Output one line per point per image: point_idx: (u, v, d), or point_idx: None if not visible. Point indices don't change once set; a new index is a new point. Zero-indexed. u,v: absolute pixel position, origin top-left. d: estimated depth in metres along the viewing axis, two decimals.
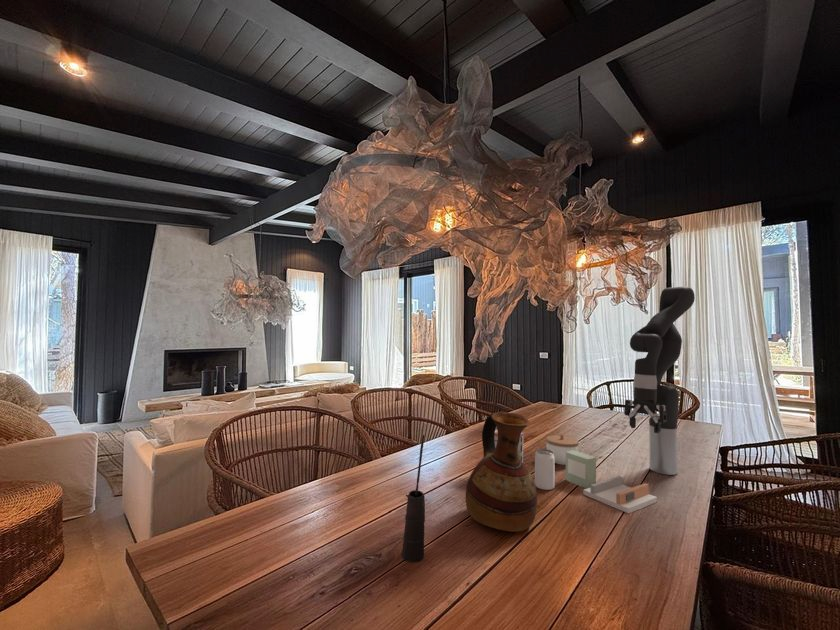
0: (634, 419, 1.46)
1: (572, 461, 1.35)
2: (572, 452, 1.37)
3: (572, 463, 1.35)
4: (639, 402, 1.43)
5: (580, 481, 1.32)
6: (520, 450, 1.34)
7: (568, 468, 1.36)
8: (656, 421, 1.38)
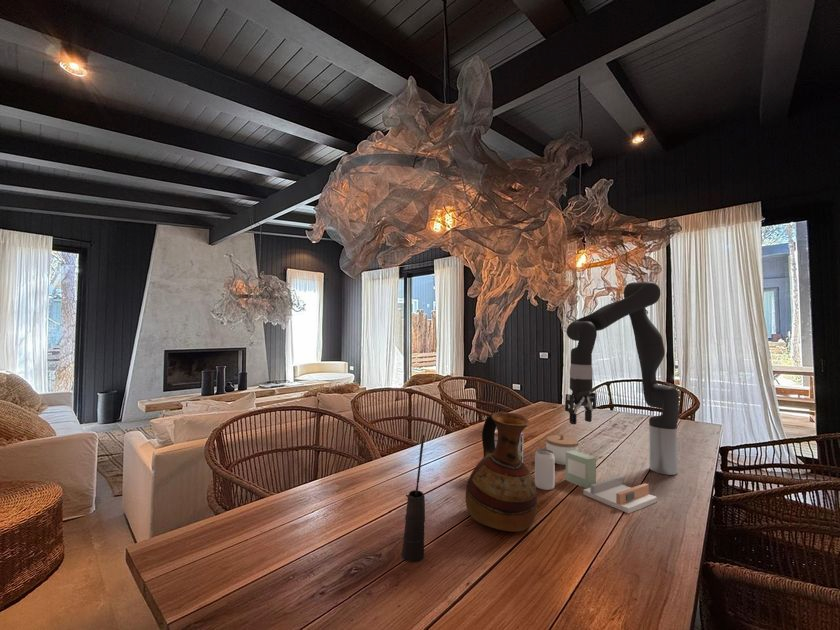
0: None
1: (572, 461, 1.35)
2: (572, 452, 1.37)
3: (572, 463, 1.35)
4: (581, 394, 1.34)
5: (580, 481, 1.32)
6: (520, 450, 1.34)
7: (568, 468, 1.36)
8: (592, 409, 1.37)
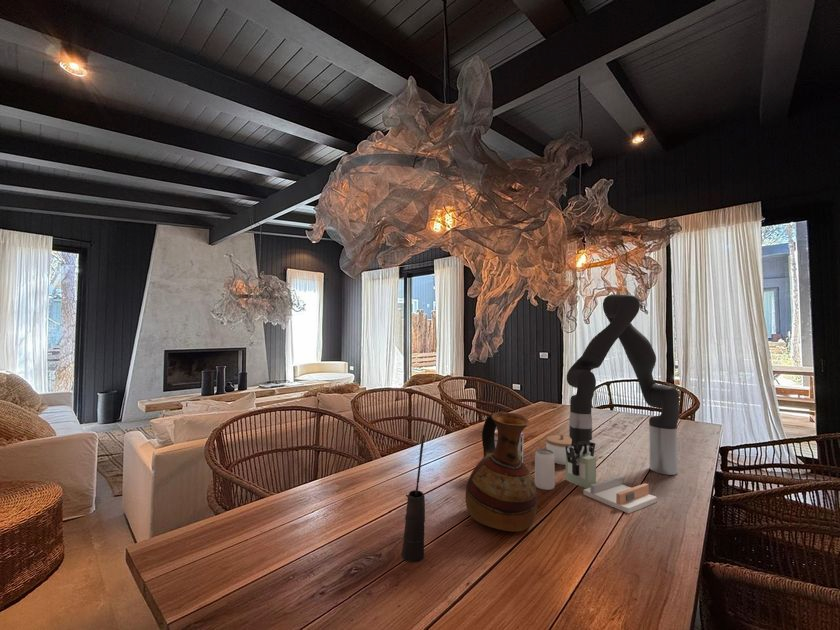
0: None
1: None
2: None
3: None
4: (580, 443, 1.33)
5: (580, 481, 1.32)
6: (520, 450, 1.34)
7: (568, 468, 1.36)
8: None
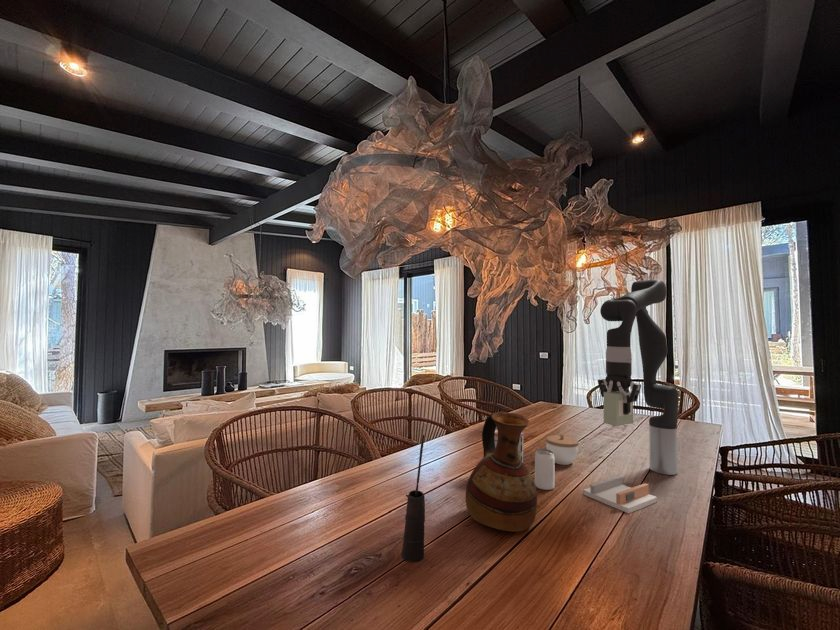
0: None
1: (621, 401, 1.22)
2: (615, 393, 1.22)
3: (621, 403, 1.22)
4: None
5: (627, 418, 1.23)
6: (520, 450, 1.34)
7: (619, 411, 1.21)
8: None
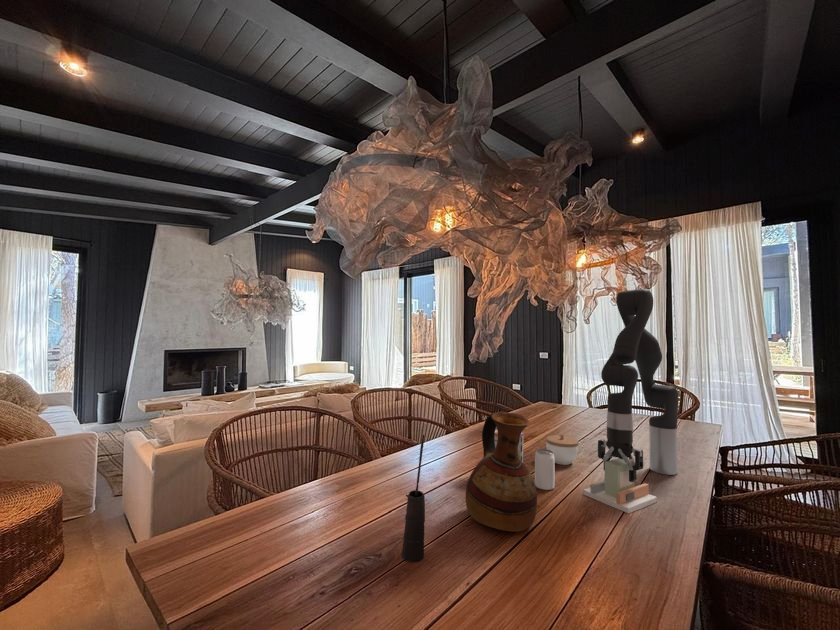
0: None
1: (623, 473, 1.20)
2: (617, 464, 1.21)
3: (622, 475, 1.20)
4: None
5: None
6: (520, 450, 1.34)
7: (620, 483, 1.19)
8: None
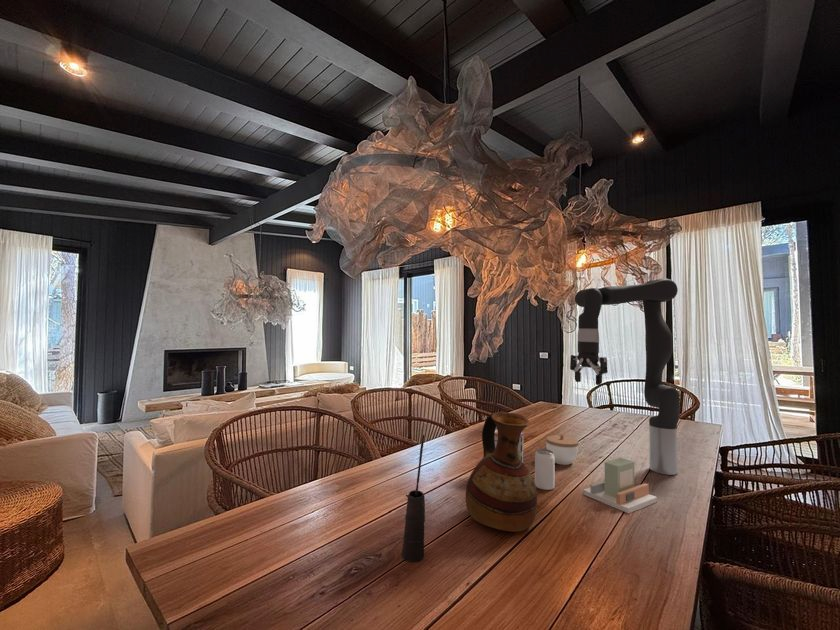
0: None
1: (623, 473, 1.20)
2: (617, 464, 1.21)
3: (622, 475, 1.20)
4: None
5: None
6: (520, 450, 1.34)
7: (620, 483, 1.19)
8: None
